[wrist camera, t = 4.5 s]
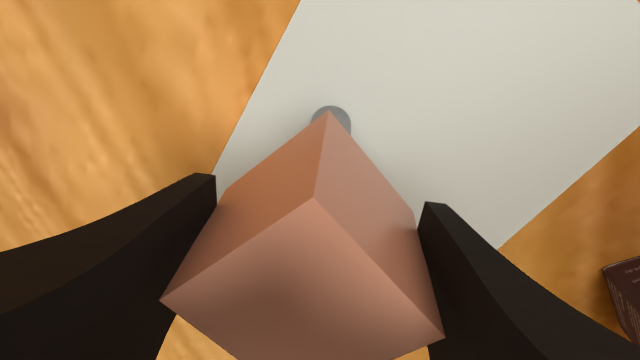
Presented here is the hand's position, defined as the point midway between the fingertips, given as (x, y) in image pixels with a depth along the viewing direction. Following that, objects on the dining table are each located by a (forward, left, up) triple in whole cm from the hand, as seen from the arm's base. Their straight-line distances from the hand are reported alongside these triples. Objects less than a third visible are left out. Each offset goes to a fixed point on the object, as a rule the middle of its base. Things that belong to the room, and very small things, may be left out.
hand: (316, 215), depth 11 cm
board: (-4, 0, -9) cm, 10 cm away
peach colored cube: (0, 0, -1) cm, 1 cm away
